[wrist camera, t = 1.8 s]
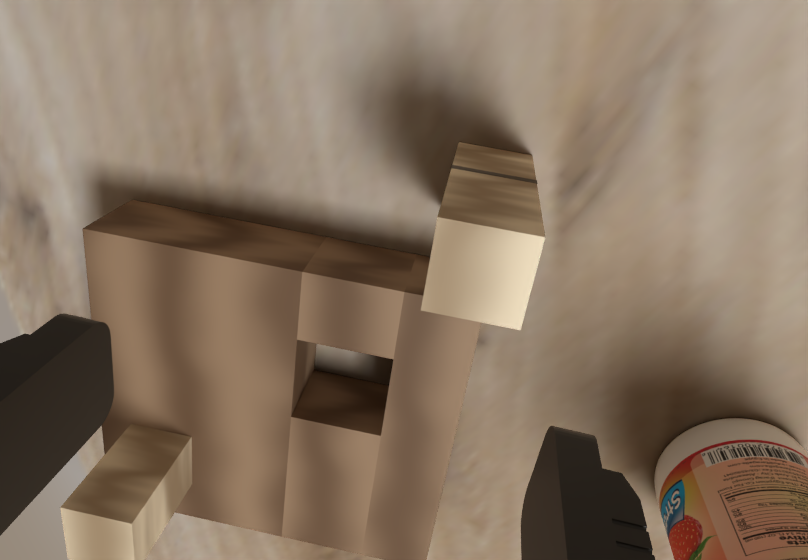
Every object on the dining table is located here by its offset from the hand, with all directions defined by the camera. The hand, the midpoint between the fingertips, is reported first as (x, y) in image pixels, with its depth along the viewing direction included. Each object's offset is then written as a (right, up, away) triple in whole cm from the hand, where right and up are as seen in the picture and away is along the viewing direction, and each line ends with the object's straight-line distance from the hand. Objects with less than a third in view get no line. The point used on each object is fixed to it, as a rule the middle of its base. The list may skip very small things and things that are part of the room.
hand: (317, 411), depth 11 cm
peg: (+6, +8, +23) cm, 25 cm away
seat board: (-6, -4, +31) cm, 31 cm away
